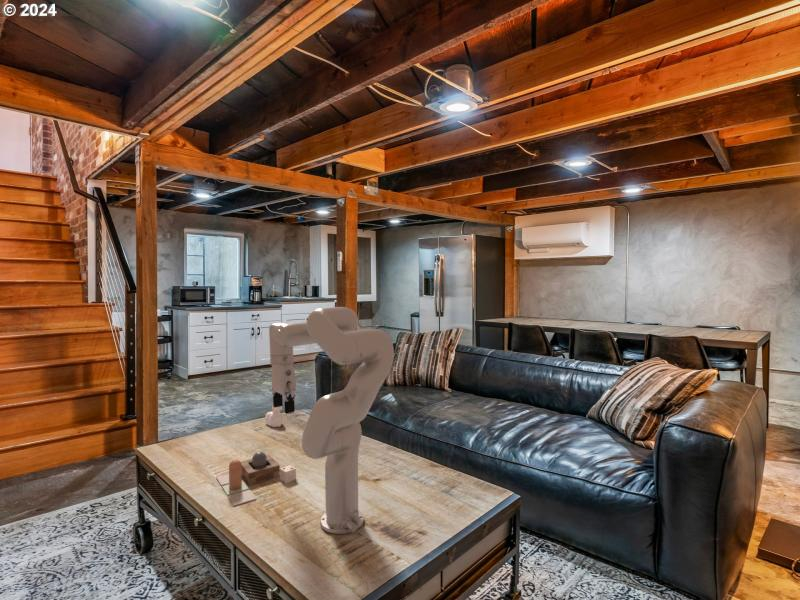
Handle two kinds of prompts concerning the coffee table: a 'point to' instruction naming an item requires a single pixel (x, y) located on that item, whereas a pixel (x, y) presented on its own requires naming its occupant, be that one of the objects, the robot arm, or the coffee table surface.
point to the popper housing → (260, 471)
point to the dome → (259, 460)
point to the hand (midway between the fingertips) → (283, 409)
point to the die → (287, 473)
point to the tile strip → (236, 491)
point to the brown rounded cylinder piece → (235, 475)
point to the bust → (274, 417)
